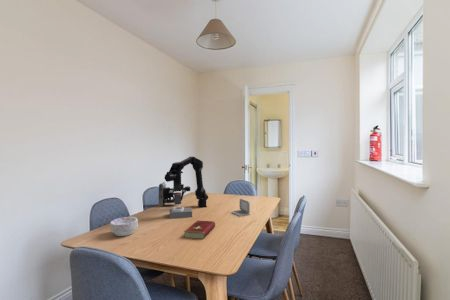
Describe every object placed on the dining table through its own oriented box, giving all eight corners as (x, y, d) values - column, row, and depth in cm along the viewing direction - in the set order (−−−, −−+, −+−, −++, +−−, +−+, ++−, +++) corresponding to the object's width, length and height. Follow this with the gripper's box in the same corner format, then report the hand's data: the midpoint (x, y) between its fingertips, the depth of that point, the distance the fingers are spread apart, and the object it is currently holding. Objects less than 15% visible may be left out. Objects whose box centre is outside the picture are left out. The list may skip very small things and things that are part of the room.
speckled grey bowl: (123, 239, 138) (122, 225, 138) (104, 235, 145) (104, 222, 145) (143, 231, 151) (143, 218, 151) (125, 227, 158) (125, 215, 158)
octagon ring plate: (190, 212, 192) (190, 205, 192) (192, 216, 180) (192, 209, 180) (169, 214, 189) (169, 206, 189) (169, 218, 177) (169, 210, 177)
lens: (181, 202, 187) (180, 192, 187) (181, 204, 182) (181, 193, 182) (174, 203, 186) (173, 192, 186) (174, 204, 181) (174, 193, 181)
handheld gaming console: (230, 212, 191) (230, 199, 190) (241, 210, 195) (240, 198, 195) (239, 216, 179) (239, 202, 179) (250, 215, 183) (250, 201, 183)
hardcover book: (215, 227, 157) (215, 220, 157) (204, 239, 137) (204, 232, 137) (197, 226, 160) (197, 219, 160) (184, 238, 140) (183, 230, 140)
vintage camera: (176, 207, 212) (176, 183, 212) (158, 206, 212) (158, 183, 212) (178, 204, 221) (179, 182, 221) (161, 204, 222) (161, 182, 222)
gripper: (163, 182, 174) (164, 204, 174) (190, 180, 178) (191, 202, 178) (164, 179, 185) (164, 200, 185) (189, 178, 189) (190, 199, 189)
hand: (177, 200), depth 184 cm, fingers closed on lens, 5 cm apart
